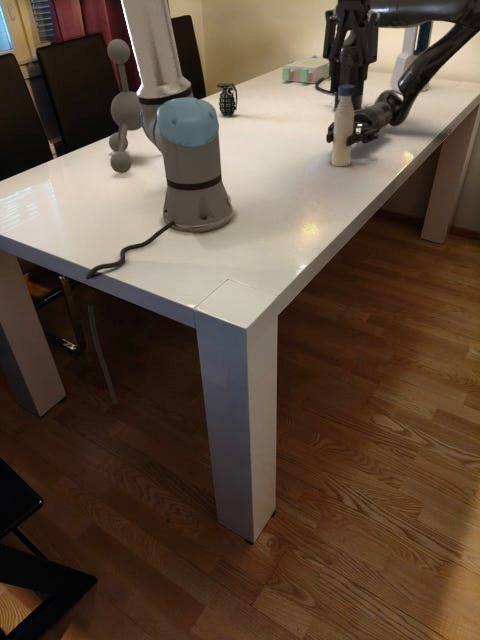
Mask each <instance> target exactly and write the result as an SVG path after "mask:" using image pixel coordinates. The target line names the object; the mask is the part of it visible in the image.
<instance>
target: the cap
mask: <svg viewBox="0 0 480 640" xmlns="http://www.w3.org/2000/svg"><path fill="white" fill-rule="evenodd" d="M338 95H340V96H352V95H354V85H340V86H339V87H338Z"/></svg>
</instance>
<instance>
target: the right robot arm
mask: <svg viewBox="0 0 480 640" xmlns="http://www.w3.org/2000/svg"><path fill="white" fill-rule="evenodd" d="M336 6H337V4H336V5H335V7H334V9H336ZM370 7H371V10H373V11H375V12H379V11H380V12H381V13H382V16H381V19H380V22H379V29H396V30H397V29H398V30H399V29H405V28H413V27H417V26H418V27H420V25H422V24H423V23H425V22H428V21H434V22H444V23H445V22H446V23H451V24H454V25H453V26H452V27H451V28H450V29H449V30H448V31H447V32H446V33H445V34H444V35H443V36H442V37H441V38H439V39H438V40H437V41H435V42H434V43H433V44H430V46H429V48H427V49H426V50H425V51H423V52H422V53H421V54H420V55H419V56H417V57H416V59H415V60H414V61H413V62H412V63H411V64H410V66H409V67H408V68H407V70H406V71H405V72H404V73H403V75H402V76H401V77H400V79H399V80H398V83H397V85H398V88H399V90H400V92H401V93H402V94H401V93H400V94H401V96H402V98H401V97H400V96H399V95H398V94H397V93H396V91H394V90H392V89H386V90H384V91H382V92H381V93H380V94H379V95H378V96H377V98H376V99H375V100H374V103H373V104H371V105H369V106H366V107H364V108H363V100H364V99H363V98H364V94H363V95H360V96H357V97H354V95H352V97H351V101H352V104H353V108H354V109H353V110H354V124H353V134H352V135H350V136H349V137H347V139H346V146H351V145H352V146H353V145H355V144H359V143H360V142H361V144H363V145H365V144H368V143H372V142H373V141H376V140H379V137H380V131H381V130H383V129H385V127H387V126H388V125H389V126H391V127H399V126H400V125H402V124H403V123H404V122H405V121H406V119H407V118H408V116H409V114H410V112H411V110H412V108H413V105H414V103H415V101H417V98H418V96H419V95H420V93H422V92H423V91H422V90H423V88H424V87H425V86H426V85H427V84H428V82H429V83H430V82H431V80H432V79H433V77H434V76H435V75H437V73H438V72H439V71H440V70H441V69H442V68H443V66H445V64H446V63H447V62H448V61H450V60H451V58H453V56H454V55H456V54H457V53H458V52H459V51H460V50H461V49H462V48H463V47H465V45H467V43H468V42H469V41H471V40H472V39H473V38H474V37H475V36H476V35H477V34H478V33H479V32H480V0H370ZM365 21H366V37H368V23H369V21H368V17H367V19H366V20H365ZM338 22H339V19H338V17H337V19H336V26H337V25H338ZM347 32H349V34H348V36H346V38H345V40H344V43H343V46H342V50H341V53H340V56H339V58H340V60H338V61H341V71H340V85H354V86H355V75H356V66H358V64H359V57H358V51H357V44H356V38H355V34H354V33H353V29H351V28H349V30H348V31H347ZM338 61H337V62H338ZM323 80H325V79H324V77H323V78H321V79H320V80H319V81H318V82H317V83H315V86H314V87H315V88H316V90H319V91H321V92H323V93H326V94H331V95H334V107H333V111H334V112H335V111H336V108H337V107H338V104H339V101H340V95H338V91H336V92H334V93H330V89H329V90H328V89H324V88H322V87H320V86H319V84H320V83H321V82H322V81H323ZM340 85H339V86H340ZM364 88H365V86H364V87H363V90H365V89H364ZM333 132H334V121H332V122H331V123H330V124H329V126H328V127H327V134H326V137H325V141H326V143H327V144H331V143H333ZM352 146H351V147H352Z"/></svg>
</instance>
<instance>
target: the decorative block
mask: <svg viewBox="0 0 480 640" xmlns="http://www.w3.org/2000/svg"><path fill="white" fill-rule="evenodd" d="M323 77H324V79H323V80H325V79H328V78H330V77H329V60H327V59H324V58H323V56H317V55H312V56H310V57H308V58H302V59H299V60H296V61H293V60H289V61H287V64H285V66H283V67H282V81H287V82H288V81H289V82H297V83H306V84H307V83H308V84H316V83H317V82H318V81H319V80H320V79H321V78H323Z"/></svg>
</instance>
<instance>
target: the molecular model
mask: <svg viewBox="0 0 480 640" xmlns="http://www.w3.org/2000/svg"><path fill="white" fill-rule="evenodd" d="M107 55H108V57H109V59H110V60H111V61H112V62H113V63H115V64H117V67H118V71H119V76H120V77H119V78H120V82H121V88H122V91H121V92H119V93H118V94H116V95H115V96H114V98H113V99H112V101H111V105H110V115H111V117H112V120H113V121H114V122H115V124H116V125H117V126H118V132H114V133H112V134H110V136H109V139H108V146H109V148H110V150H112V151H113V152H114V153H112V155H111V157H110V159H109V162H110V167H111V168H112V170H113V171H115V172H116V173H118V174H126V173H127V172H129V170H131V168H132V163H133V162H132V158H131V156H130V155H129V154H128V153H127V152H125V151H126V150H127V149H128V146H129V141H128V138H127V136H128V131H129V132H131V131H132V132H134V131H137V130H140V129H142V128H143V127H142V124H141V107H140V103H139V99H138V96H137V92H135V91H131V90H129V84H128V78H127V73H126V67H125V64H126V63H127V62H128V60H129V59H130V56H131V49H130V46H129V45H128V43H126V42H125V41H124V40H123V39H120V38H115V39H112V40H111V41H110V42H109V43H108V45H107Z"/></svg>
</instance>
